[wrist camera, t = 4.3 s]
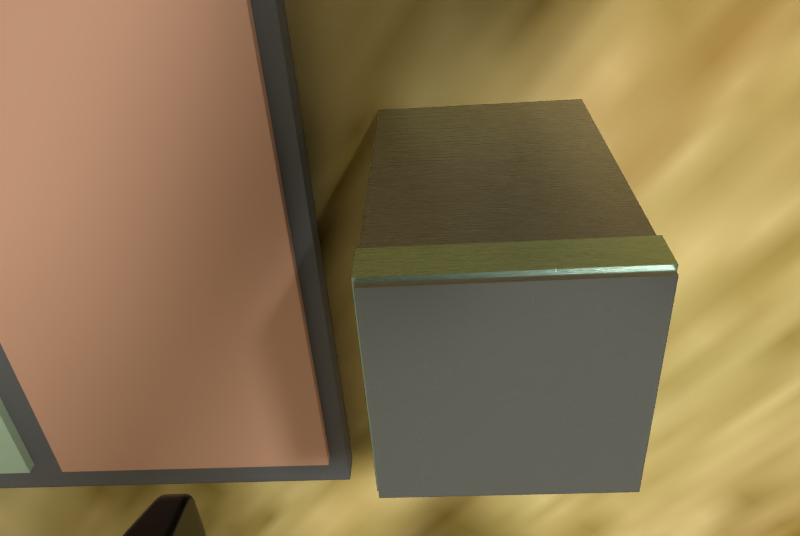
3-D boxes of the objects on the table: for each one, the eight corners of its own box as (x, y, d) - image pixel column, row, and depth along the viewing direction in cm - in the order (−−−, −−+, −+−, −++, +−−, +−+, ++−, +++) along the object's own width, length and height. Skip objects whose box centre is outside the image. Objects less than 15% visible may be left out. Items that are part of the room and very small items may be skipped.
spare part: (584, 96, 16) (682, 272, 10) (570, 270, 18) (641, 493, 12) (375, 107, 16) (349, 285, 10) (391, 278, 18) (376, 500, 12)
